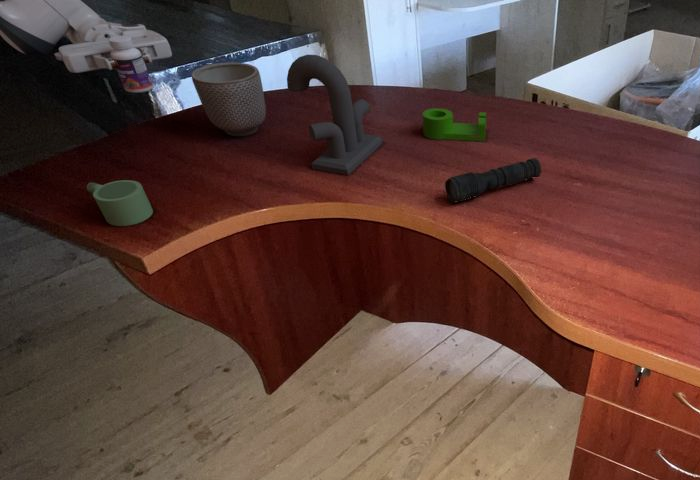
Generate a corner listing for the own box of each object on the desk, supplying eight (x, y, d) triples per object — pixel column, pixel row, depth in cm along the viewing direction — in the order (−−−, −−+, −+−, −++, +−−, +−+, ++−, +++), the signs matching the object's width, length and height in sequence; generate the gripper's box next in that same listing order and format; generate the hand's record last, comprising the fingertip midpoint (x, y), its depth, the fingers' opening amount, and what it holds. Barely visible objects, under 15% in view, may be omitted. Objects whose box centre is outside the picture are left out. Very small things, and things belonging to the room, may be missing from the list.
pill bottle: (119, 91, 113) (97, 40, 106) (137, 83, 117) (117, 33, 110) (141, 94, 112) (121, 43, 105) (159, 86, 116) (140, 36, 109)
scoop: (162, 211, 100) (151, 185, 96) (126, 230, 95) (113, 204, 91) (116, 195, 103) (104, 170, 100) (79, 213, 98) (65, 187, 95)
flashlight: (444, 197, 108) (443, 173, 105) (527, 174, 117) (529, 152, 114) (457, 208, 105) (456, 184, 102) (541, 183, 114) (543, 161, 111)
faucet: (323, 131, 128) (305, 38, 114) (383, 142, 125) (373, 48, 112) (280, 163, 115) (255, 63, 102) (347, 176, 113) (330, 74, 99)
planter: (216, 120, 130) (197, 62, 121) (276, 118, 133) (262, 61, 124) (205, 144, 121) (184, 83, 112) (270, 141, 123) (254, 82, 114)
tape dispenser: (421, 138, 128) (420, 119, 125) (425, 126, 133) (424, 107, 130) (484, 141, 128) (485, 122, 125) (485, 129, 133) (486, 110, 130)
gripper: (43, 37, 109) (65, 54, 102) (149, 22, 120) (175, 37, 113) (59, 70, 113) (81, 88, 107) (160, 53, 124) (185, 69, 118)
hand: (130, 62), depth 110 cm, fingers closed on pill bottle, 5 cm apart
